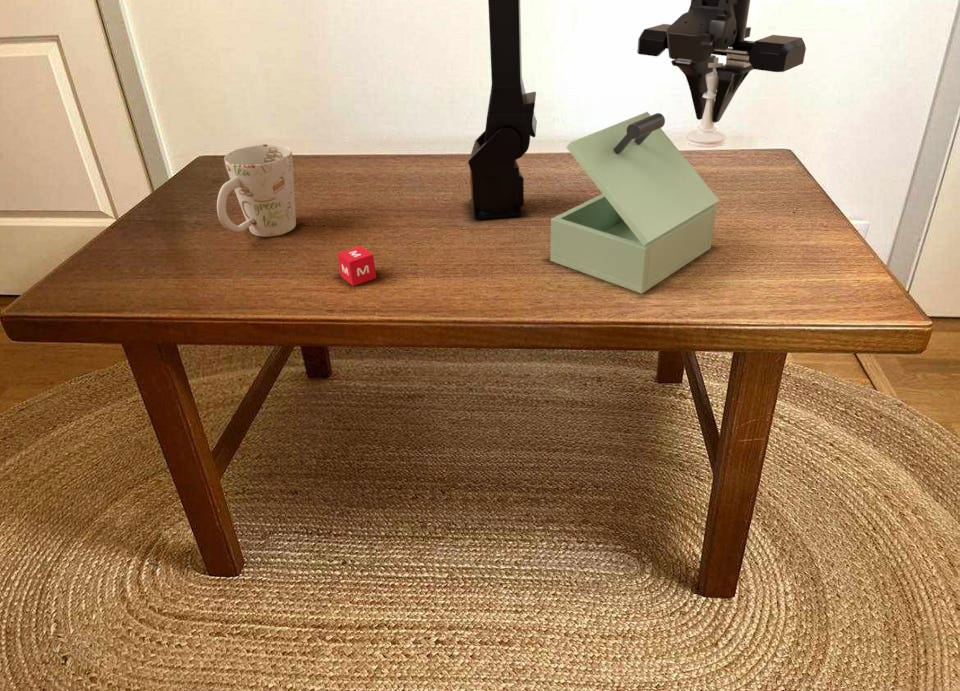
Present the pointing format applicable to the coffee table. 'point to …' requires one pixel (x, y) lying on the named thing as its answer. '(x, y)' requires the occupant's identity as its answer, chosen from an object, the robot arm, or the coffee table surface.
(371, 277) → the red letter cube
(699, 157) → the coffee table surface
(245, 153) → the mug
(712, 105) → the chess piece
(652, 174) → the lid
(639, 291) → the chest
